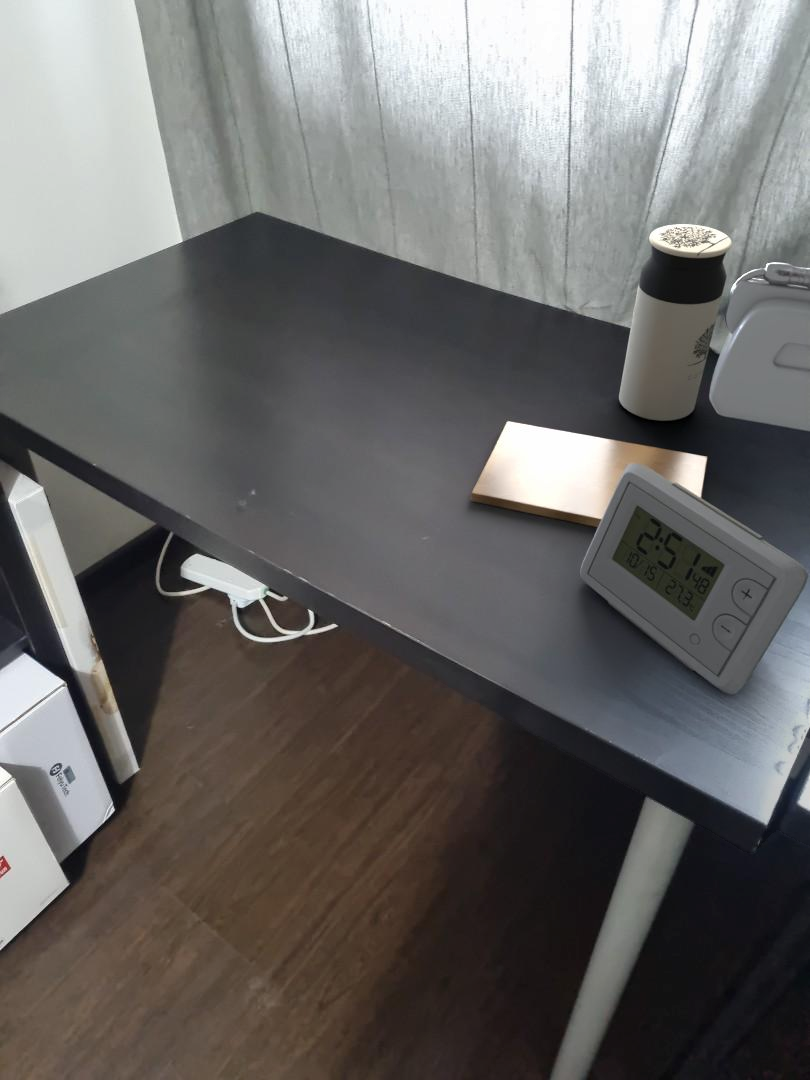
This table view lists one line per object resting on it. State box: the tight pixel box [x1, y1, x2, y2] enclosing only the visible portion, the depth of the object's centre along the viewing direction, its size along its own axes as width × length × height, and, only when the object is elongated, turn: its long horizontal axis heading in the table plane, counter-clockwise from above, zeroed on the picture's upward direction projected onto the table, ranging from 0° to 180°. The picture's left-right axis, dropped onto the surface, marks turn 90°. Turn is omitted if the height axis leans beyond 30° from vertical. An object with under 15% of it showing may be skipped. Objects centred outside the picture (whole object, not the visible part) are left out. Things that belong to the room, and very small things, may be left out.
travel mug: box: [618, 223, 733, 422], centre depth 84 cm, size 8×8×18 cm
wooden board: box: [470, 420, 708, 528], centre depth 78 cm, size 20×13×1 cm, turn 70°
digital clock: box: [579, 463, 809, 695], centre depth 61 cm, size 16×9×11 cm, turn 23°
